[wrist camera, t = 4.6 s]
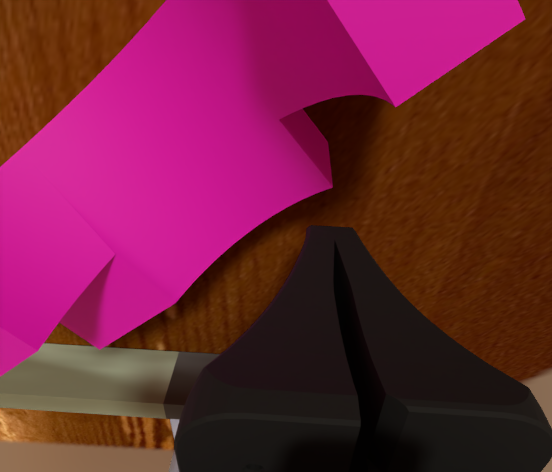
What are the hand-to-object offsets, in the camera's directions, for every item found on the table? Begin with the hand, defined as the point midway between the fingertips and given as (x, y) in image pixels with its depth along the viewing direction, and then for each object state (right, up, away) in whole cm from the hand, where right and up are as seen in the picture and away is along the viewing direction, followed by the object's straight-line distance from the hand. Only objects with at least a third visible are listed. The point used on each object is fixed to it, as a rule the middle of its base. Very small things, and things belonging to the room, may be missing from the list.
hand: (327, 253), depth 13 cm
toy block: (-4, +5, +2) cm, 7 cm away
